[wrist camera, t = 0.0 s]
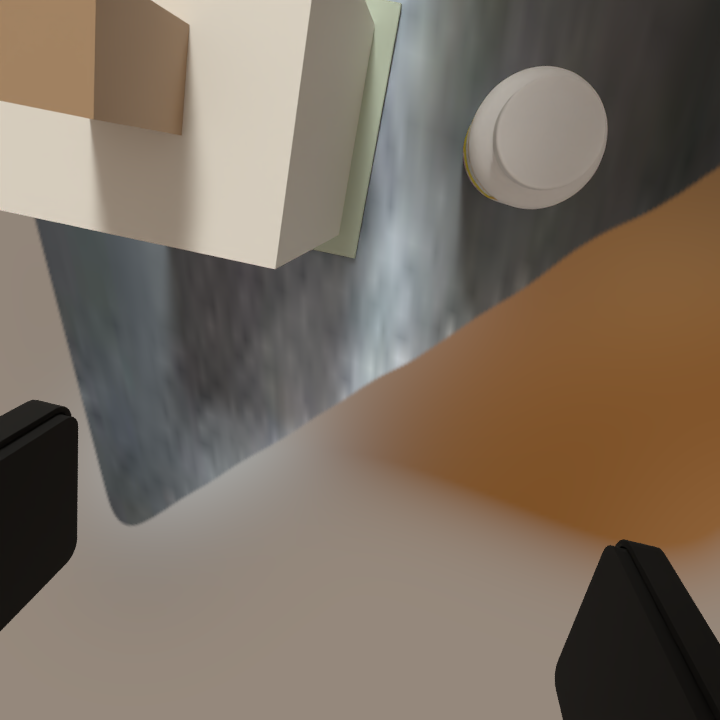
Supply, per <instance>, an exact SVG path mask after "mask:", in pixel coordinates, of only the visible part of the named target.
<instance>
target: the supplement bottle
mask: <svg viewBox="0 0 720 720" xmlns="http://www.w3.org/2000/svg"><path fill="white" fill-rule="evenodd" d="M607 133H608V126H607V117H606V112H605V109H604V106H603V104H602V101H601V99H600V97H599V95H598V94H597V92H596V91H595V90H594V88H593V87H592V86H591V85H590V84H589V83H588V82H587V81H586V80H584V79H583V78H582V77H581V76H579V75H577V74H576V73H574V72H572V71H569V70H566V69H563V68H559V67H553V66H539V67H533V68H528V69H525V70H522V71H519V72H517V73H515V74H513V75H511V76H509V77H508V78H506V79H505V80H503V81H502V82H500V83H499V84H498V85H497V86H496V87H495V88H494V89H493V90H492V91H491V92H490V93H489V94H488V95H487V97H486V98H485V99H484V101H483V102H482V103H481V105H480V107H479V108H478V110H477V112H476V114H475V116H474V119H473V120H472V123H471V125H470V127H469V129H468V131H467V134H466V137H465V141H464V146H463V160H464V166H465V170H466V173H467V175H468V177H469V179H470V181H471V183H472V184H473V185H474V187H475V188H476V189H477V190H478V191H479V192H480V193H481V194H483V195H484V196H486V197H487V198H489V199H491V200H494V201H496V202H499V203H503V204H507V205H509V206H513V207H516V208H521V209H541V208H546V207H550V206H553V205H556V204H558V203H560V202H563V201H565V200H566V199H568V198H570V197H571V196H573V195H574V194H575V193H577V192H578V191H579V190H580V189H582V188H583V187H584V186H585V185H586V183H587V182H588V181H589V180H590V179H591V177H592V176H593V175H594V173H595V172H596V170H597V168H598V166H599V164H600V162H601V160H602V157H603V154H604V151H605V147H606V142H607Z"/></svg>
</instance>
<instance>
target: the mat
mask: <svg viewBox="0 0 720 720" xmlns="http://www.w3.org/2000/svg"><path fill="white" fill-rule="evenodd" d="M365 1H366V4H367V6H368V9H369V11H370V14H371V16H372V19H373V22H374V24H375V27H374V32H373V38H372V44H371V50H370V56H369V62H368V68H367V73H366V79H365V85H364V91H363V97H362V103H361V108H360V114H359V120H358V126H357V132H356V138H355V143H354V149H353V155H352V161H351V167H350V173H349V178H348V184H347V190H346V196H345V202H344V208H343V214H342V219H341V225H340V231H339V235H338V236H336V237H334V238H332V239H330V240H329V241H327V242H325V243H323V244H321V245H319V246H317V247H316V248H314V249H312V250H317V251H321V252H326V253H331V254H336V255H340V256H345V257H350V258H355V256H356V251H357V245H358V240H359V234H360V229H361V224H362V218H363V213H364V207H365V202H366V196H367V191H368V185H369V180H370V175H371V169H372V164H373V158H374V153H375V147H376V142H377V137H378V131H379V126H380V120H381V115H382V109H383V104H384V98H385V93H386V88H387V82H388V77H389V71H390V66H391V60H392V55H393V50H394V44H395V39H396V33H397V28H398V22H399V17H400V11H401V6H402V4H401V3H397V2H392V1H386V0H365Z"/></svg>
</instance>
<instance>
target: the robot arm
mask: <svg viewBox="0 0 720 720" xmlns="http://www.w3.org/2000/svg"><path fill="white" fill-rule="evenodd" d="M77 480H78V422H77V420H76V419H75V418H74V417H71V413H70V411H69V409H68V408H66V407H64V406H60V405H55V404H51V403H47V402H43V401H39V400H31V401H28V402H26V403H24V404H22V405H20V406H19V407H17V408H15V409H13V410H11V411H9V412H7V413H6V414H4V415H2V416H0V631H1V630H2V629H3V628H4V627H5V626H6V625H7V624H8V623H9V622H10V621H11V619H13V618H14V617H15V615H17V614H18V613H19V611H20V610H21V609H22V608H23V607H24V606H25V605H26V604H27V603H28V602H29V601H30V600H31V599H32V598H33V597H34V596H35V595H36V594H37V593H38V592H39V591H40V590H41V589H42V588H43V587H44V586H45V585H46V584H47V583H48V582H49V581H50V580H51V579H52V578H53V577H54V576H55V574H56V573H57V572H58V571H59V570H60V569H61V568H62V567H63V566H64V565H65V564H66V563H67V562H68V561H69V559H70V558H71V556H72V555H73V552H74V550H75V547H76V543H77V487H78V485H77V484H78V481H77ZM555 687H556V692H557V696H558V700H559V704H560V708H561V713H562V717H563V720H720V644H719V642H718V640H717V639H716V637H715V636H714V634H713V632H712V631H711V629H710V627H709V626H708V624H707V622H706V621H705V619H704V618H703V616H702V614H701V613H700V611H699V609H698V608H697V606H696V605H695V603H694V602H693V600H692V598H691V596H690V595H689V593H688V591H687V590H686V588H685V587H684V585H683V583H682V582H681V580H680V578H679V577H678V575H677V573H676V572H675V570H674V569H673V567H672V565H671V564H670V562H669V560H668V559H667V557H666V556H665V554H664V552H663V551H662V550H661V549H660V548H657V547H654V546H649V545H645V544H641V543H636V542H632V541H628V540H620V541H619V542H618V543H617V544H616V546H611V545H610V546H607V547H606V548H605V549H604V551H603V553H602V556H601V558H600V561H599V563H598V566H597V568H596V570H595V572H594V575H593V577H592V580H591V582H590V585H589V587H588V590H587V592H586V594H585V597H584V599H583V602H582V604H581V606H580V609H579V611H578V614H577V616H576V619H575V621H574V624H573V626H572V628H571V631H570V633H569V636H568V638H567V640H566V643H565V645H564V648H563V650H562V653H561V655H560V657H559V660H558V663H557V666H556V671H555Z"/></svg>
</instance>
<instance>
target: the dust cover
mask: <svg viewBox="0 0 720 720" xmlns="http://www.w3.org/2000/svg"><path fill="white" fill-rule="evenodd" d="M374 27H375V24H374V22H373V19H372V16H371V14H370V11H369V9H368V6H367V4H366V1H365V0H0V210H2V211H7V212H11V213H16V214H20V215H25V216H30V217H34V218H39V219H44V220H48V221H53V222H58V223H62V224H67V225H72V226H76V227H81V228H86V229H90V230H95V231H100V232H104V233H109V234H113V235H118V236H123V237H127V238H132V239H137V240H141V241H146V242H151V243H155V244H160V245H165V246H169V247H174V248H179V249H183V250H188V251H193V252H197V253H202V254H206V255H211V256H216V257H220V258H225V259H230V260H234V261H239V262H244V263H248V264H253V265H258V266H262V267H267V268H272V269H277V268H279V267H280V266H282V265H284V264H286V263H288V262H290V261H292V260H293V259H295V258H297V257H299V256H301V255H303V254H304V253H306V252H308V251H310V250H312V249H314V248H316V247H317V246H319V245H321V244H323V243H325V242H327V241H329V240H330V239H332V238H334V237H336V236H338V235H339V231H340V225H341V219H342V214H343V208H344V202H345V196H346V190H347V184H348V178H349V173H350V167H351V161H352V155H353V149H354V143H355V138H356V132H357V126H358V120H359V114H360V108H361V103H362V97H363V91H364V85H365V79H366V73H367V68H368V62H369V56H370V50H371V44H372V38H373V32H374Z"/></svg>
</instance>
